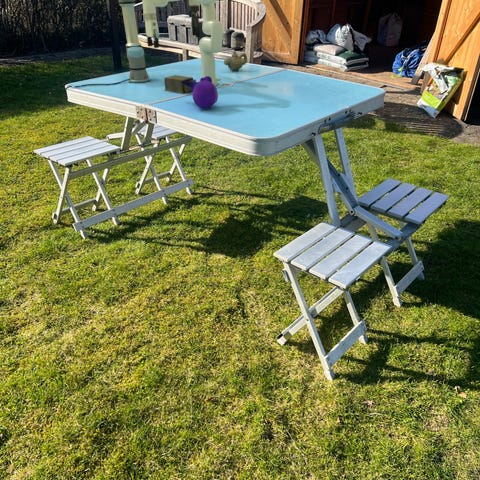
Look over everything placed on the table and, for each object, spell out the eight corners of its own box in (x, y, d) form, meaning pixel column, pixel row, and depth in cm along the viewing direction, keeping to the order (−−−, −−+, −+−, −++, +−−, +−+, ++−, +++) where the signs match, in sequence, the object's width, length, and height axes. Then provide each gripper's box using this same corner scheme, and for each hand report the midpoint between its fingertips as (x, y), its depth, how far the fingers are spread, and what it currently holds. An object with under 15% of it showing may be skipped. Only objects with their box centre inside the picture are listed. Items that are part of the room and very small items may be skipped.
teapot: (227, 73, 361) (227, 53, 353) (221, 70, 369) (220, 51, 362) (250, 70, 370) (250, 50, 362) (243, 68, 378) (242, 49, 371)
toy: (205, 99, 283) (218, 114, 263) (178, 94, 276) (189, 110, 255) (211, 73, 275) (224, 87, 254) (183, 68, 268) (194, 82, 247)
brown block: (193, 90, 308) (193, 77, 304) (182, 93, 301) (181, 80, 296) (176, 87, 317) (175, 75, 313) (165, 90, 310) (164, 77, 305)
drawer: (202, 90, 303) (202, 80, 299) (192, 93, 296) (192, 83, 293) (180, 87, 314) (179, 77, 310) (170, 89, 307) (169, 79, 304)
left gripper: (202, 6, 328) (204, 37, 338) (195, 4, 348) (197, 34, 359) (192, 6, 326) (194, 38, 337) (186, 4, 347) (188, 34, 357)
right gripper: (161, 17, 270) (164, 47, 279) (150, 15, 283) (153, 45, 292) (150, 17, 267) (153, 48, 276) (139, 16, 279) (142, 46, 288)
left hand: (196, 36), depth 348 cm, fingers open, 13 cm apart
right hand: (153, 46), depth 284 cm, fingers open, 9 cm apart
